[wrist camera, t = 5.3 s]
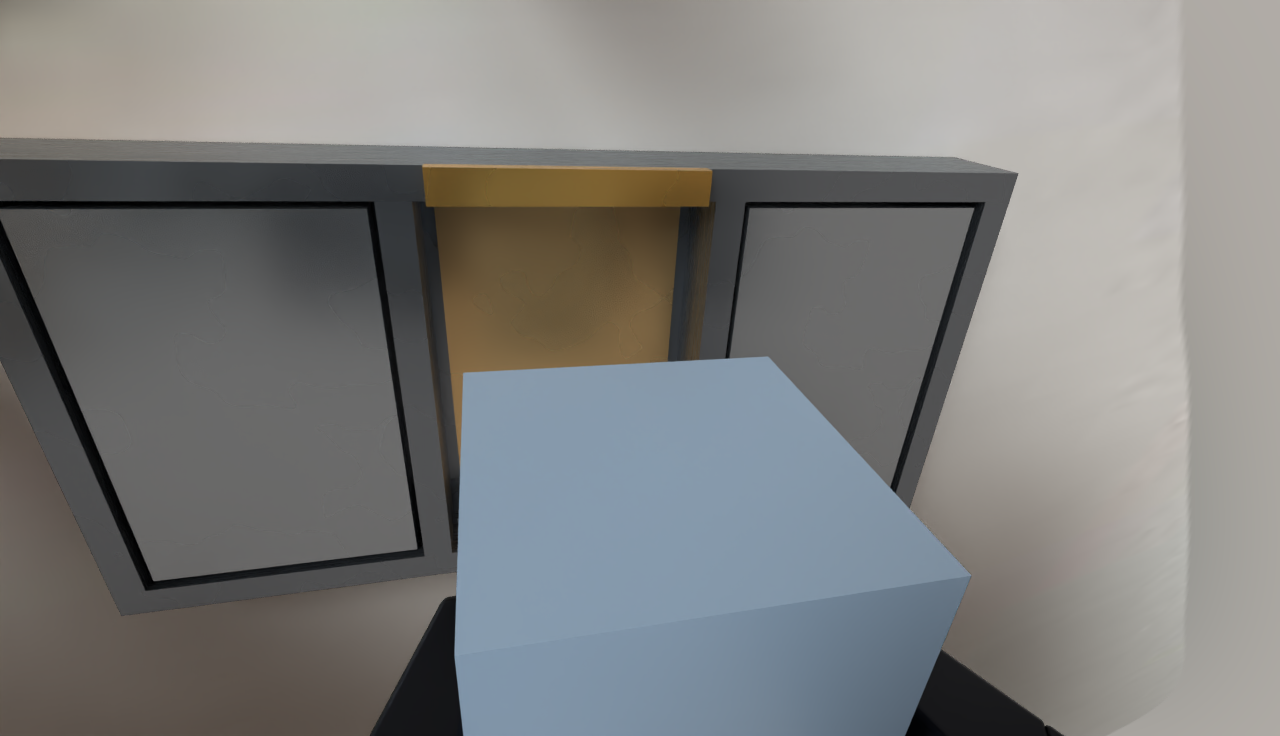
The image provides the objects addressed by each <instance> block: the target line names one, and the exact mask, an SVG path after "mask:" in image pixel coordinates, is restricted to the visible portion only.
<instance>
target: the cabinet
mask: <svg viewBox="0 0 1280 736" xmlns="http://www.w3.org/2000/svg"><path fill="white" fill-rule="evenodd" d="M1017 176H1018V173H1015V172H1011V171H1007V170H1003V169H999V168H995V167H991V166H987V165H983V164H979V163H975V162H971V161H967V160H963V159H959V158H955V157H906V156H858V155H809V154H761V153H712V152H664V151H615V150H567V149H518V148H470V147H421V146H373V145H324V144H276V143H227V142H179V141H130V140H82V139H33V138H0V361H1V363H2V365H3V367H4V369H5V371H6V373H7V376H8V378H9V380H10V382H11V384H12V386H13V388H14V390H15V392H16V395H17V397H18V399H19V401H20V403H21V405H22V407H23V409H24V411H25V414H26V416H27V418H28V420H29V422H30V424H31V426H32V428H33V430H34V433H35V435H36V437H37V439H38V441H39V443H40V445H41V447H42V449H43V452H44V454H45V456H46V458H47V460H48V462H49V464H50V466H51V468H52V471H53V473H54V475H55V477H56V479H57V481H58V483H59V485H60V487H61V490H62V492H63V494H64V496H65V498H66V500H67V502H68V504H69V506H70V509H71V511H72V513H73V515H74V517H75V519H76V521H77V523H78V525H79V528H80V530H81V532H82V534H83V536H84V538H85V540H86V542H87V544H88V547H89V549H90V551H91V553H92V555H93V557H94V559H95V561H96V563H97V566H98V568H99V570H100V572H101V574H102V576H103V578H104V580H105V582H106V585H107V587H108V589H109V591H110V593H111V595H112V597H113V599H114V601H115V604H116V606H117V608H118V610H119V612H120V614H121V616H125V615H133V614H140V613H148V612H155V611H163V610H171V609H178V608H186V607H193V606H201V605H209V604H216V603H224V602H231V601H239V600H247V599H254V598H262V597H269V596H277V595H285V594H292V593H300V592H307V591H315V590H323V589H330V588H338V587H345V586H353V585H361V584H368V583H376V582H383V581H391V580H398V579H406V578H414V577H421V576H429V575H436V574H444V573H452V572H457V557H458V525H459V493H460V460H461V428H462V395H463V373H467V372H486V371H505V370H524V369H543V368H562V367H581V366H599V365H618V364H637V363H656V362H675V361H694V360H713V359H732V358H750V357H769V358H770V359H771V360H772V361H773V362H774V363H775V364H776V365H777V367H778V368H779V369H780V370H781V371H782V372H783V373H784V374H785V375H786V376H787V377H788V378H789V379H790V381H791V382H792V383H793V384H794V385H795V386H796V387H797V388H798V389H799V390H800V391H801V392H802V393H803V395H804V396H805V397H806V398H807V399H808V400H809V401H810V402H811V403H812V404H813V405H814V406H815V408H816V409H817V410H818V411H819V412H820V413H821V414H822V415H823V416H824V417H825V418H826V419H827V420H828V422H829V423H830V424H831V425H832V426H833V427H834V428H835V429H836V430H837V431H838V432H839V433H840V434H841V436H842V437H843V438H844V439H845V440H846V441H847V442H848V443H849V444H850V445H851V446H852V447H853V448H854V450H855V451H856V452H857V453H858V454H859V455H860V456H861V457H862V458H863V459H864V460H865V461H866V463H867V464H868V465H869V466H870V467H871V468H872V469H873V470H874V471H875V472H876V473H877V474H878V475H879V477H880V478H881V479H882V480H883V481H884V482H885V483H886V484H887V485H888V486H889V487H890V488H891V489H892V491H893V492H894V493H895V494H896V495H897V496H898V497H899V498H900V499H901V500H902V501H903V502H904V503H905V505H906V506H907V507H908V508H910V505H911V502H912V499H913V496H914V493H915V490H916V486H917V483H918V480H919V477H920V474H921V471H922V468H923V465H924V462H925V459H926V456H927V453H928V450H929V447H930V443H931V440H932V437H933V434H934V431H935V428H936V425H937V422H938V419H939V416H940V413H941V410H942V407H943V404H944V400H945V397H946V394H947V391H948V388H949V385H950V382H951V379H952V376H953V373H954V370H955V367H956V364H957V361H958V357H959V354H960V351H961V348H962V345H963V342H964V339H965V336H966V333H967V330H968V327H969V324H970V321H971V318H972V314H973V311H974V308H975V305H976V302H977V299H978V296H979V293H980V290H981V287H982V284H983V281H984V278H985V275H986V272H987V268H988V265H989V262H990V259H991V256H992V253H993V250H994V247H995V244H996V241H997V238H998V235H999V232H1000V229H1001V225H1002V222H1003V219H1004V216H1005V213H1006V210H1007V207H1008V204H1009V201H1010V198H1011V195H1012V192H1013V189H1014V186H1015V182H1016V179H1017Z"/></svg>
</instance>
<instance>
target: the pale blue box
mask: <svg viewBox="0 0 1280 736" xmlns="http://www.w3.org/2000/svg"><path fill="white" fill-rule="evenodd" d="M970 578H971V575H970V574H969V572H968V571H967V570H966V569H965V568H964V567H963V566H962V565H961V564H960V563H959V562H958V561H957V560H956V558H955V557H954V556H953V555H952V554H951V553H950V552H949V551H948V550H947V549H946V548H945V547H944V546H943V544H942V543H941V542H940V541H939V540H938V539H937V538H936V537H935V536H934V535H933V534H932V533H931V532H930V530H929V529H928V528H927V527H926V526H925V525H924V524H923V523H922V522H921V521H920V520H919V519H918V517H917V516H916V515H915V514H914V513H913V512H912V511H911V510H910V509H909V508H908V507H907V506H906V505H905V503H904V502H903V501H902V500H901V499H900V498H899V497H898V496H897V495H896V494H895V493H894V492H893V491H892V489H891V488H890V487H889V486H888V485H887V484H886V483H885V482H884V481H883V480H882V479H881V478H880V477H879V475H878V474H877V473H876V472H875V471H874V470H873V469H872V468H871V467H870V466H869V465H868V464H867V463H866V461H865V460H864V459H863V458H862V457H861V456H860V455H859V454H858V453H857V452H856V451H855V450H854V448H853V447H852V446H851V445H850V444H849V443H848V442H847V441H846V440H845V439H844V438H843V437H842V436H841V434H840V433H839V432H838V431H837V430H836V429H835V428H834V427H833V426H832V425H831V424H830V423H829V422H828V420H827V419H826V418H825V417H824V416H823V415H822V414H821V413H820V412H819V411H818V410H817V409H816V408H815V406H814V405H813V404H812V403H811V402H810V401H809V400H808V399H807V398H806V397H805V396H804V395H803V393H802V392H801V391H800V390H799V389H798V388H797V387H796V386H795V385H794V384H793V383H792V382H791V381H790V379H789V378H788V377H787V376H786V375H785V374H784V373H783V372H782V371H781V370H780V369H779V368H778V367H777V365H776V364H775V363H774V362H773V361H772V360H771V359H770V358H769V357H750V358H732V359H713V360H694V361H675V362H656V363H637V364H618V365H599V366H581V367H562V368H543V369H524V370H505V371H486V372H467V373H463V395H462V428H461V460H460V493H459V525H458V557H457V590H456V622H455V655H454V656H455V665H456V674H457V683H458V692H459V701H460V710H461V718H462V727H463V736H905V734H906V732H907V730H908V727H909V725H910V722H911V720H912V718H913V715H914V713H915V710H916V708H917V706H918V703H919V701H920V698H921V696H922V694H923V691H924V689H925V686H926V684H927V681H928V679H929V677H930V674H931V672H932V669H933V667H934V665H935V662H936V660H937V657H938V655H939V653H940V650H941V648H942V645H943V643H944V641H945V638H946V636H947V633H948V631H949V628H950V626H951V624H952V621H953V619H954V616H955V614H956V612H957V609H958V607H959V604H960V602H961V600H962V597H963V595H964V592H965V590H966V588H967V585H968V583H969V580H970Z"/></svg>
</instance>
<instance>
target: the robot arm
mask: <svg viewBox="0 0 1280 736" xmlns="http://www.w3.org/2000/svg"><path fill="white" fill-rule="evenodd" d="M455 622H456V596H452V597H447V598H445V599H444V600H443V601H442V602H441V604H440V605H439V607H438V609H437V611H436V613H435V615H434V617H433V618H432V620H431V622H430V624H429V626H428V628H427V630H426V631H425V633H424V635H423V637H422V639H421V641H420V643H419V645H418V646H417V648H416V650H415V652H414V654H413V656H412V658H411V659H410V661H409V663H408V665H407V667H406V669H405V671H404V672H403V674H402V676H401V678H400V680H399V682H398V684H397V686H396V687H395V689H394V691H393V693H392V695H391V697H390V699H389V700H388V702H387V704H386V706H385V708H384V710H383V712H382V714H381V715H380V717H379V719H378V721H377V723H376V725H375V727H374V728H373V730H372V732H371V734H370V736H463V727H462V718H461V710H460V701H459V692H458V683H457V674H456V665H455V656H454V655H455ZM905 736H1064V735H1062V734H1061V733H1060V732H1058V731H1057V730H1055V729H1054V728H1052V727H1051V726H1049V725H1046V726H1044V723H1043V721H1042V720H1041V719H1039V718H1038V717H1037V716H1035V715H1034V714H1032V713H1031V712H1029V711H1028V710H1027V709H1025V708H1024V707H1022V706H1021V705H1019V704H1018V703H1017V702H1015V701H1014V700H1012V699H1011V698H1010V697H1008V696H1007V695H1005V694H1004V693H1002V692H1001V691H1000V690H998V689H997V688H995V687H994V686H993V685H991V684H990V683H988V682H987V681H985V680H984V679H983V678H981V677H980V676H978V675H977V674H976V673H974V672H973V671H971V670H970V669H968V668H967V667H966V666H964V665H963V664H961V663H960V662H959V661H957V660H956V659H954V658H953V657H951V656H950V655H949V654H947V653H946V652H944V651H943V650H940V653H939V655H938V657H937V660H936V662H935V665H934V667H933V669H932V672H931V674H930V677H929V679H928V681H927V684H926V686H925V689H924V691H923V694H922V696H921V698H920V701H919V703H918V706H917V708H916V710H915V713H914V715H913V718H912V720H911V722H910V725H909V727H908V730H907V732H906V734H905Z"/></svg>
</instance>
